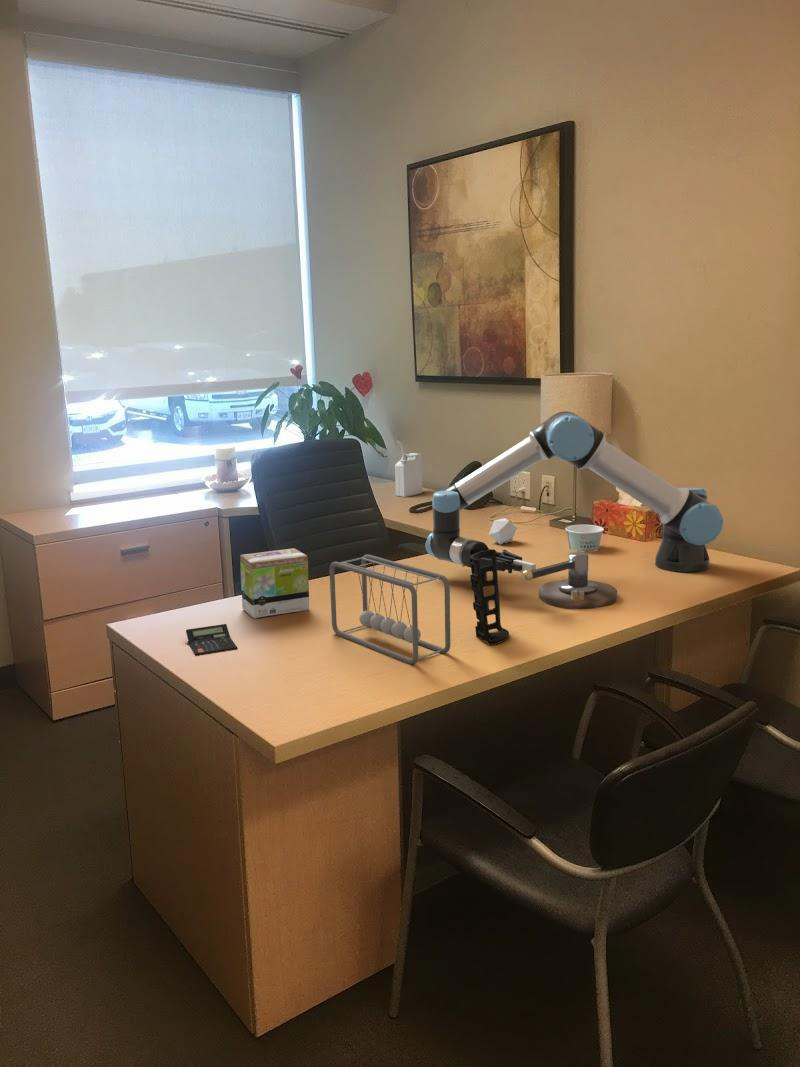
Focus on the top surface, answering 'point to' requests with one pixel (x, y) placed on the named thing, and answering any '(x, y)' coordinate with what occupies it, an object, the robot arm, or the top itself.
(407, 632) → the newton's cradle
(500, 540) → the die
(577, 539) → the food container
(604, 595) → the dial base
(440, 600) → the top surface
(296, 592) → the tea box
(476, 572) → the holder
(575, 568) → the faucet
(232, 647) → the calculator
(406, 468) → the gas can
